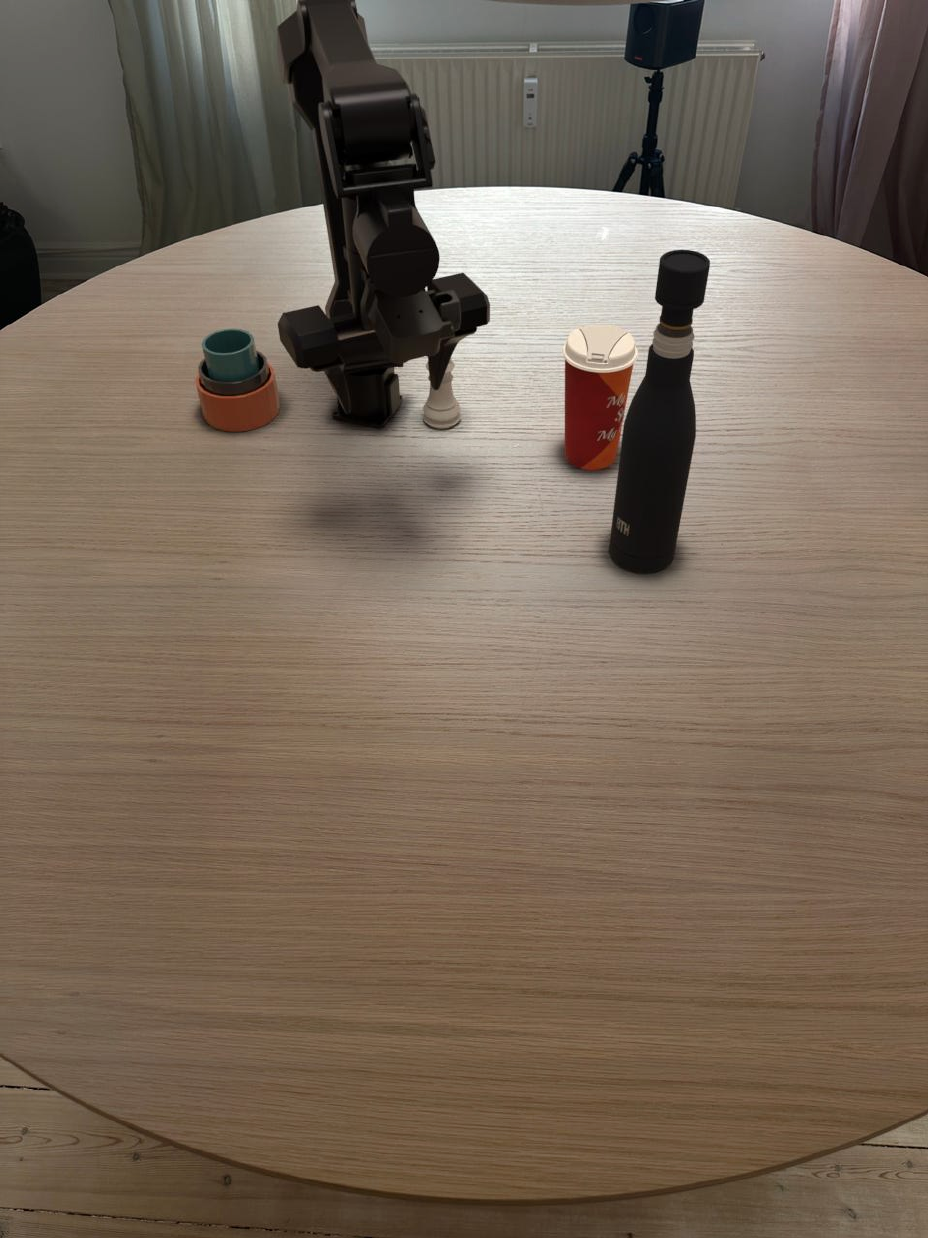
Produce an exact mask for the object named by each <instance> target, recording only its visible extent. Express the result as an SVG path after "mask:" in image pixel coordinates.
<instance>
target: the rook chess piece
mask: <svg viewBox="0 0 928 1238" xmlns="http://www.w3.org/2000/svg"><path fill="white" fill-rule="evenodd" d="M455 367H456V364H455V362H454V361H453V360H452V357H451V358H450V361H449V364H448V366H447V369H446V372H445V375H444V377H443V380H442V383H441V385H440V388H439V390H434V389H433V387H432V386H431V381H430V375H429V374H428V376H427V379H428V382H429V393H428V397H427V398H426V401H425V403H424V405H423V408H422V411H423V414H422V418H423V421H424V422H425V423H426V424H427V425H428V426H429V427H431V428H433V429H438V430H443V429H445V430H446V429H450V428H452V427H454V426H455V425H456V424H458V423H459V422H460V420H461V418H462V414H461V406H460V403H459V401H457V398H456V397H455V395H454V391H453V385H452V381H453V379H454V374H452V371H453V370H454V369H455ZM425 369H426V370H427V372H429V367H428V361H427V362H426V364H425Z"/></svg>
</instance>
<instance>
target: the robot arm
mask: <svg viewBox="0 0 928 1238" xmlns="http://www.w3.org/2000/svg"><path fill="white" fill-rule="evenodd" d="M276 55H277V56H276V57H277V63H278V64H277V65H278V69H279V74H280V79H281V83H282V85H288V90H289V96H290V100H291V104H292V106H293V107H294V109H295V110H296V111H297V113H298V114H299V116H300V117H301V118H302V120H303V121H304V122H305V124H306V125H307V126H308V128H309V129H310V131H311V137H312V142H313V148H314V155H315V161H316V167H317V174H318V180H319V186H320V194H321V200H322V206H323V213H324V218H325V219H324V220H325V226H326V231H327V238H328V239H327V240H328V244H329V250H330V257H331V264H332V271H333V276H334V283H333V285H332V288H331V290H330V293H329V296H328V299H327V301H326V304H325V307H324V310H323V309H322V307H321V306H320V305H319V304H317V305H312V306H308V307H304V308H300V309H299V308H298V309H295V310H290V311H286V312H283V313H282V314H281V316H280V317H279V319H278V322H277V330H278V336H279V342H280V343H281V344H282V346H283V347H284V349H285V350H286V352H287V353H288V355H289V356H290V359H292V361H293V363H294V364H295V367H297V368H300V369H304V370H305V369H307V370H308V369H310V371H312V372H314V373H321V372H323V373H324V375H325V376H326V379H327V381H328V382H329V384H330V386H331V388H332V390H333V392H334V394H335V396H336V405H337V406H336V407H335V408H334V409H333V411H332V412H331V417H332V419H334V420H338V421H344V422H349V423H352V424H353V423H354V424H358V425H363V426H368V427H373V428H377V429H378V428H379V429H380V428H383V427H384V426H385V425H386V423H387V422H388V421H389V420H390V418H391V417H392V416H393V415H394V414H395V412H396V411H397V410H398V409H399V407H400V406H401V404H402V402H403V396H402V395H401V394H400V393H401V391H400V390H401V389H400V378H399V377H400V376H399V375H398V373H395V368H403V367H404V364H406V363H407V362H409V361H411V360H416V359H421V358H424V357H427V362H428V367H429V371H428V376H429V375H430V381H431V386H432V387H433V389H434V390H439V388H440V385H441V383H442V380H443V377H444V375H445V372H446V369H447V366H448V364H449V361H450V358H451V359H452V356H453V355H454V354H453V353H454V351H455V350H456V348H457V346H458V344H459V342H461V341H463V340H464V339H465V338H467V337H469V336H471V335H475V333H476V332H477V330H478V328H479V327H483V326H487V325H488V324H489V323H490V321H491V302H490V299H489V296H488V295H487V294H486V293H485V292H484V291H483V290H482V289H481V288H480V287H479V286H478V285H477V284H476V282H474V281H473V280H472V279H471V278H470V277H469V276H468V275H467V274H466V273H464V272H459V273H455V274H451V275H446V276H442V277H438V278H435V277H436V275H437V273H438V269H439V266H440V259H441V258H440V251H439V248H438V245H437V243H436V240H435V239H434V237H433V235H432V232H431V231H430V230H429V228H428V226H427V225H426V223H425V220H424V219H423V217H422V215H421V214H420V212H419V210H418V208H417V206H416V201H415V190H422V189H431V188H433V187H434V185H433V176H432V171H431V170H434V169H435V165H436V156H435V152H434V147H433V142H432V138H431V133H430V128H429V122H428V118H427V113H426V110H425V108H424V107H423V106H422V105H421V100H420V97H419V96H418V95H417V93H415V92H411V88H410V86H409V84H408V82H407V80H406V79H405V78H404V77H403V75H402V74H401V73H400V72H399V71H398V69H396V68H393V67H391V66H387V65H384V64H379V63H378V62H377V60H376V58H375V55H374V53H373V51H372V49H371V46H370V44H369V39H368V33H367V27H366V22H365V17H363V16H362V15H361V14H360V13H358V8H357V3H356V0H296V10H295V11H294V12H293V13H292V14H290V15H289V16H288V17H287V18H286V19H285V20H283V21H282V22H281V23H280V24H278V26H277V28H276ZM412 157H414V159H415V162H413V163H405V164H403V163H402V164H396V165H395V164H394V165H393V164H392V163H391V162H393V161H401V160H409V159H412ZM430 381H429V382H430Z"/></svg>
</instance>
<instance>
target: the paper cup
mask: <svg viewBox="0 0 928 1238" xmlns="http://www.w3.org/2000/svg"><path fill="white" fill-rule="evenodd" d="M561 354H562V357H563V359H564V454H565V458H566V460H567V462H568V463H569V464H570V465H572V466H574V467H576V468H578V469H581V470H587V471H597V470H603V469H606V468H608V467H610V466H611V465H612V464H613V463H614V462H615V461H616V456H617V453H618V448H619V445H620V439H621V433H622V429H623V424H624V417H625V413H626V406H627V402H628V395H629V391H630V386H631V380H632V375H633V369H634V364H635V363H636V361H638V357H639V351H638V347H636V341H635V339H634V337H633V335H632V334H631V333H630V332H628V331H627V330H625V329H622V328H621V327H617V326H614V325H609V324H590V325H584V326H581V327H578V328H576V329H574V330H572V331H571V332H570V334H569V335H568V336H567V338H566V342H565V343H564V344H563V346H562V348H561Z"/></svg>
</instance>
